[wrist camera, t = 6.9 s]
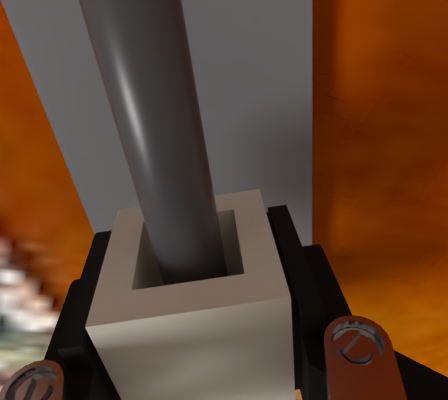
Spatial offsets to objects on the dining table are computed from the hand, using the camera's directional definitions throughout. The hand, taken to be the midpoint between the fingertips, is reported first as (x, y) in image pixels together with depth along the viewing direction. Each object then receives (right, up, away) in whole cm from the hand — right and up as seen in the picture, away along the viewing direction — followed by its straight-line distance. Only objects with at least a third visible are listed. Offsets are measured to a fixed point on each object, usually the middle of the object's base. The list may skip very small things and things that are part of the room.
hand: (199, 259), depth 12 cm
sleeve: (0, 0, 0) cm, 0 cm away
